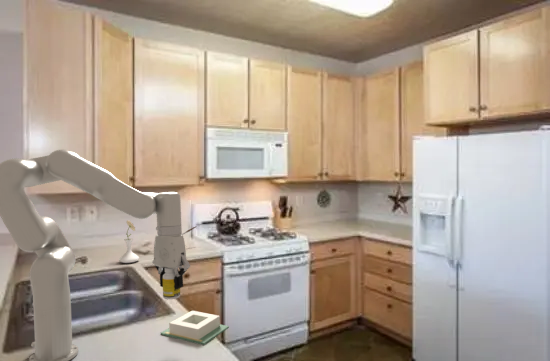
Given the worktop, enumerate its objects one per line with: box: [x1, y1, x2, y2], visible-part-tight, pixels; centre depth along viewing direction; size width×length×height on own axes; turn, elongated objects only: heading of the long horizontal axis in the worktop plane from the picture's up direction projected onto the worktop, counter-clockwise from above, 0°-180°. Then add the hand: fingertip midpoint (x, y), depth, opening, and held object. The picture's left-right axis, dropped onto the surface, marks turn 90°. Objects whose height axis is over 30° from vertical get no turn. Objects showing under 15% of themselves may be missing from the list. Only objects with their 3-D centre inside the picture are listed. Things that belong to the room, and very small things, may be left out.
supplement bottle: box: [162, 267, 181, 300], centre depth 122 cm, size 5×5×10 cm
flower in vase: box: [118, 220, 140, 264], centre depth 229 cm, size 13×11×25 cm
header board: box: [160, 310, 230, 346], centre depth 129 cm, size 18×14×4 cm
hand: (171, 286), depth 122 cm, fingers closed on supplement bottle, 5 cm apart
